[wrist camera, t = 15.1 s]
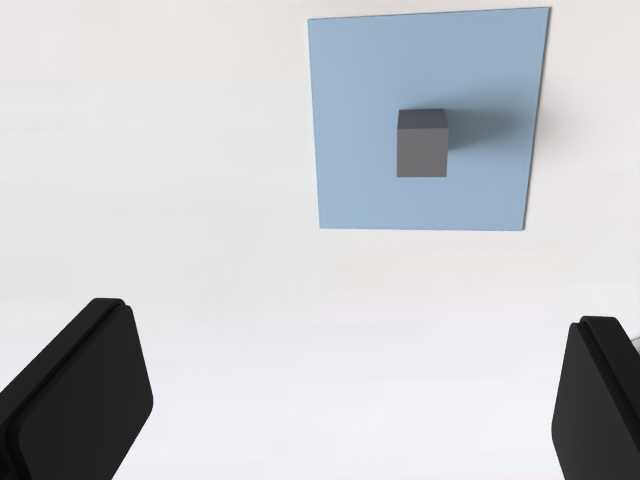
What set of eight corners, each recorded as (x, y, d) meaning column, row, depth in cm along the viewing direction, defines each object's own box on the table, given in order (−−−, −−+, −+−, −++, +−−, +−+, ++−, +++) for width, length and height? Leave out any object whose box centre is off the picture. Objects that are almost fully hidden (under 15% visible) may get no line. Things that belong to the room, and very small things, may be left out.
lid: (545, 6, 33) (573, 11, 27) (520, 226, 39) (538, 266, 34) (309, 19, 35) (290, 25, 30) (321, 224, 42) (307, 261, 36)
